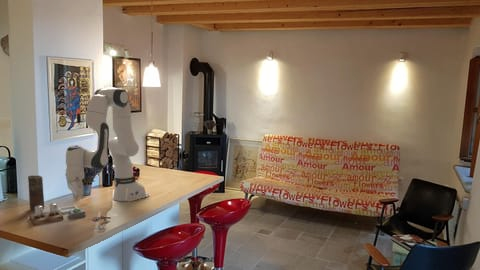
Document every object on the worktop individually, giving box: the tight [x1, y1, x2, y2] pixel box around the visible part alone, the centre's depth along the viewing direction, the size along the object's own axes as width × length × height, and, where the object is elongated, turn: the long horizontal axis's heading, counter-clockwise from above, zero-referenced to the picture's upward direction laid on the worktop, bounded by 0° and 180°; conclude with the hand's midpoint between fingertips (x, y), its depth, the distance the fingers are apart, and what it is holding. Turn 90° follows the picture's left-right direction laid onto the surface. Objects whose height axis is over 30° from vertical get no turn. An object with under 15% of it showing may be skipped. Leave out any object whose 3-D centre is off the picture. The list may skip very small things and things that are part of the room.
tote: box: [57, 205, 78, 215], centre depth 210 cm, size 9×8×2 cm
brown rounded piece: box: [27, 175, 45, 212], centre depth 211 cm, size 8×7×20 cm
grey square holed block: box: [68, 207, 86, 219], centre depth 203 cm, size 7×7×3 cm
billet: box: [49, 202, 58, 216], centre depth 198 cm, size 4×4×8 cm
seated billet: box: [34, 205, 44, 219], centre depth 194 cm, size 4×4×8 cm
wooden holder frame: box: [29, 209, 64, 226], centre depth 197 cm, size 14×12×2 cm
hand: (75, 200), depth 201 cm, fingers closed
